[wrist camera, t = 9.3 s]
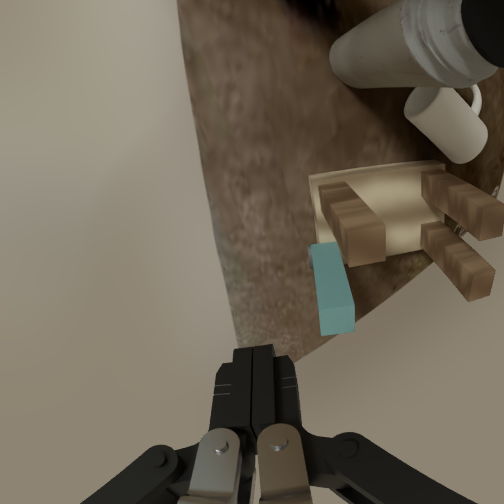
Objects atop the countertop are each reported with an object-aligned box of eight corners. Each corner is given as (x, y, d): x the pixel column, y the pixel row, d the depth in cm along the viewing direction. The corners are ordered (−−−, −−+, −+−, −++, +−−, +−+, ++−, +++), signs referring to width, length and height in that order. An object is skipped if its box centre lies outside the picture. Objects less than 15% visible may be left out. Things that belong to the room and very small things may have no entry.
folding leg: (307, 244, 43) (313, 310, 30) (336, 240, 42) (354, 305, 29) (309, 266, 44) (316, 336, 32) (338, 263, 43) (354, 331, 31)
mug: (440, 157, 39) (470, 170, 32) (395, 115, 37) (422, 121, 30) (475, 100, 34) (507, 105, 27) (433, 56, 32) (463, 52, 25)
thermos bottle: (381, 35, 31) (528, -10, 7) (387, 89, 35) (546, 104, 10) (325, 32, 32) (431, -53, 7) (332, 88, 36) (457, 82, 11)
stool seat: (308, 175, 41) (338, 225, 26) (435, 159, 39) (510, 198, 23) (319, 258, 47) (344, 337, 32) (433, 237, 45) (492, 298, 29)
